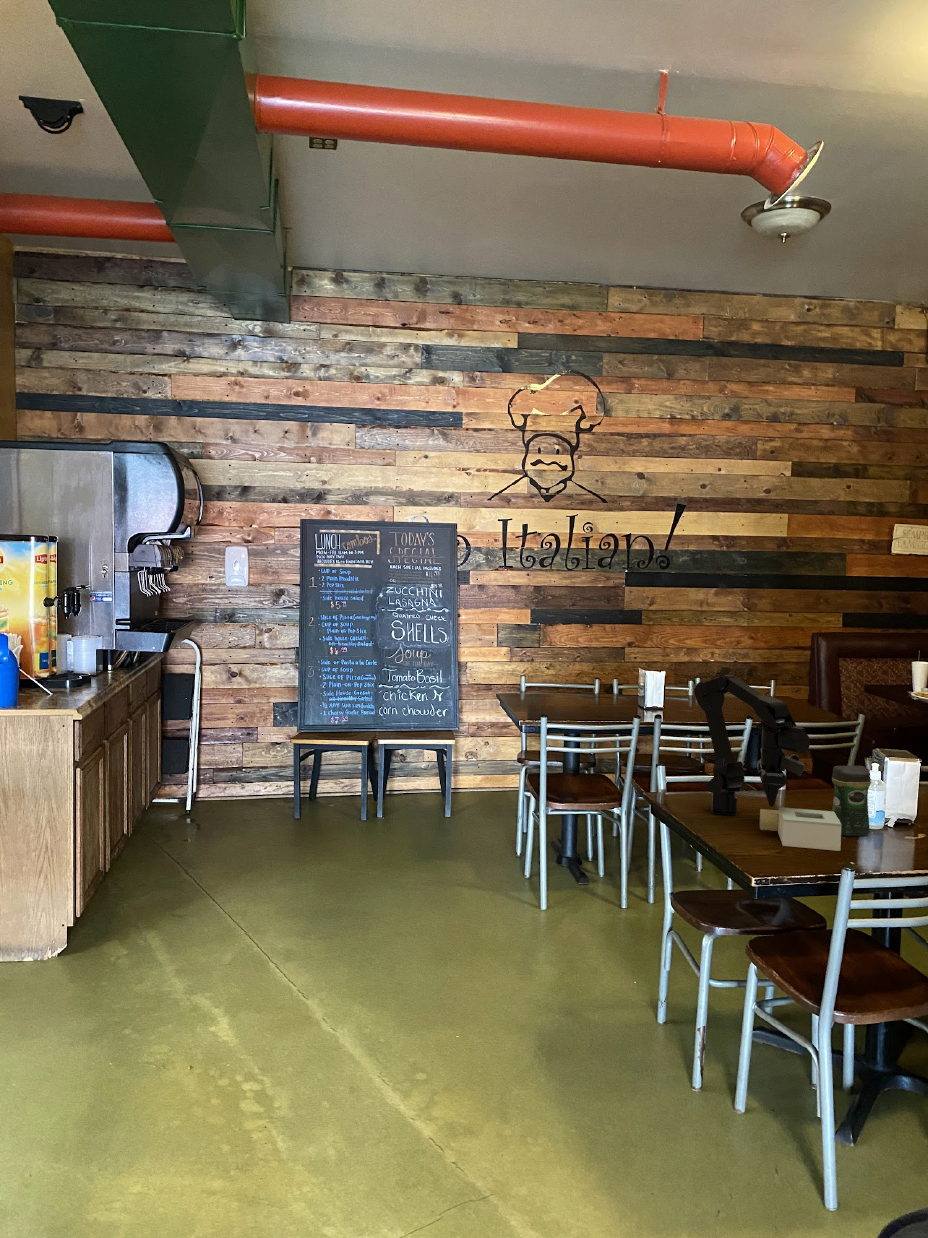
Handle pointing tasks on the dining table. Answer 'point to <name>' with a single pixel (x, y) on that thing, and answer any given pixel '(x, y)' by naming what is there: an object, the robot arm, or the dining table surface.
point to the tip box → (809, 829)
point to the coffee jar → (851, 799)
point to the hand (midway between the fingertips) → (770, 802)
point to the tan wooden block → (769, 819)
